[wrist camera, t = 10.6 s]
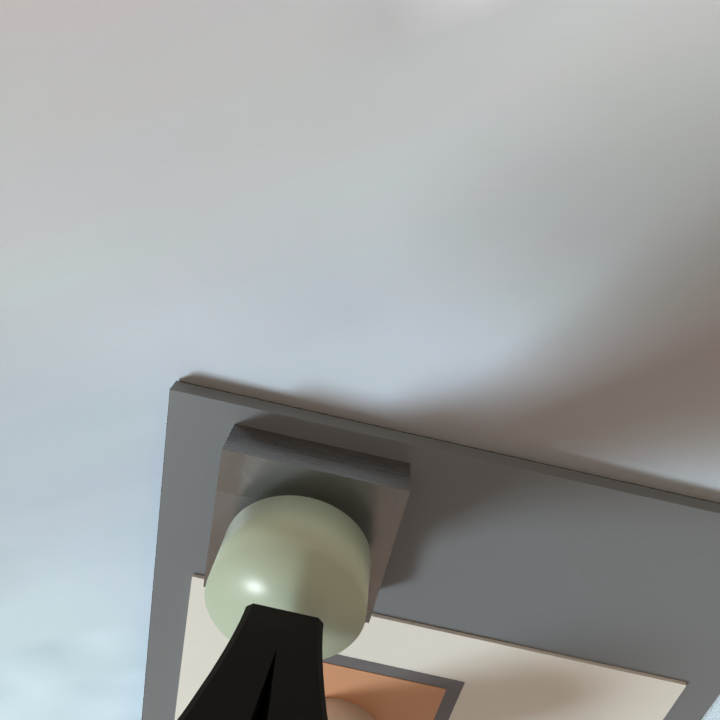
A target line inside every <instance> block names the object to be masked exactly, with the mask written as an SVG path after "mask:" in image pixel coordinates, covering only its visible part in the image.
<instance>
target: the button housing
mask: <svg viewBox="0 0 720 720" xmlns="http://www.w3.org/2000/svg"><path fill="white" fill-rule="evenodd" d="M410 467H411V463H407V462H402V461H398V460H393V459H389V458H384V457H380V456H376V455H371V454H367V453H362V452H358V451H353V450H349V449H344V448H340V447H336V446H331V445H327V444H322V443H318V442H313V441H309V440H304V439H300V438H296V437H291V436H287V435H282V434H278V433H273V432H269V431H265V430H260V429H256V428H251V427H247V426H242V425H238V424H234V426H233V428H232V430H231V432H230V434H229V436H228V438H227V440H226V442H225V444H224V446H223V448H222V452H221V460H220V467H219V475H218V482H217V489H216V497H215V504H214V511H213V519H212V526H211V533H210V541H209V548H208V556H207V563H206V570H205V578H204V585H203V587H205V586H206V581H207V579H208V576H209V574H210V571H211V569H212V566H213V564H214V561H215V559H216V556H217V554H218V551H219V549H220V547H221V544H222V542H223V539H224V537H225V534H226V532H227V529H228V527H229V525H230V523H231V522H232V520H233V519H234V518H235V516H236V515H237V514H238V513H239V512H241V511H242V510H243V509H244V508H246V507H247V506H249V505H251V504H252V503H255V502H257V501H259V500H262V499H266V498H269V497H275V496H284V495H294V496H304V497H310V498H313V499H317V500H320V501H323V502H325V503H328V504H330V505H332V506H334V507H336V508H338V509H339V510H341V511H342V512H344V513H345V514H347V515H348V516H349V517H350V518H351V519H352V520H353V521H354V522H355V523H356V524H357V525H358V526H359V527H360V529H361V530H362V532H363V533H364V535H365V537H366V539H367V541H368V544H369V547H370V552H371V569H370V580H369V591H368V603H367V614H366V620H365V623H369V622H370V618H371V615H372V612H373V609H374V606H375V602H376V599H377V596H378V593H379V590H380V586H381V583H382V580H383V577H384V574H385V570H386V567H387V564H388V561H389V558H390V554H391V551H392V548H393V545H394V542H395V538H396V535H397V532H398V529H399V526H400V522H401V519H402V516H403V513H404V510H405V506H406V503H407V500H408V497H409V494H410Z"/></svg>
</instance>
